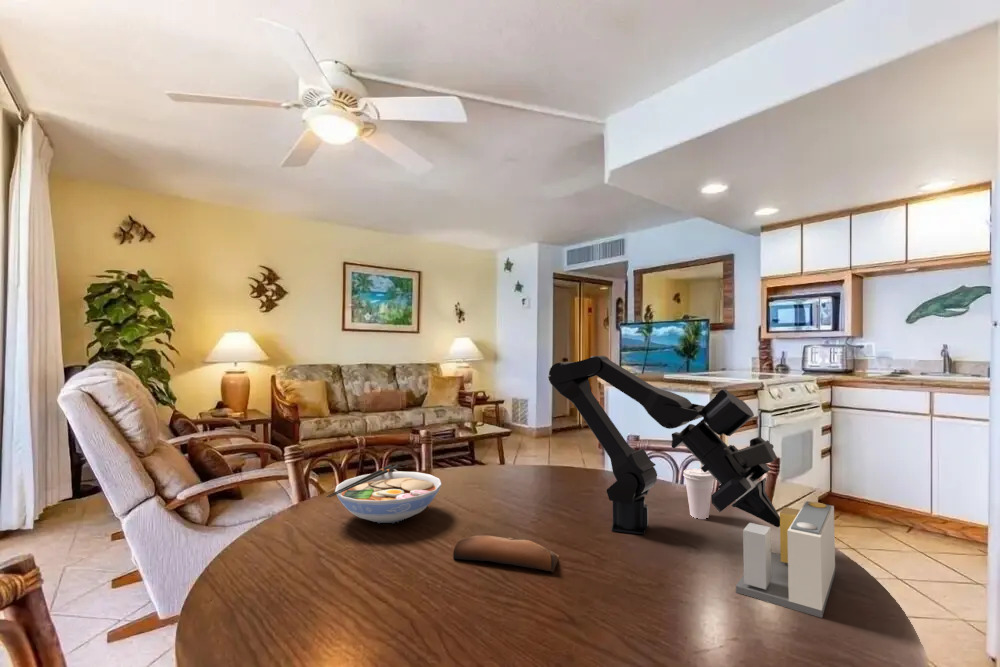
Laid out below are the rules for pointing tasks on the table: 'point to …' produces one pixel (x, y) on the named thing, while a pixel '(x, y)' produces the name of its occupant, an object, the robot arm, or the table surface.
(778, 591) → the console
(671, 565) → the table surface
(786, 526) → the amber block
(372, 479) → the ramen bowl
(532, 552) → the sunglasses case
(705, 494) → the smoothie
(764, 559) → the light grey block
